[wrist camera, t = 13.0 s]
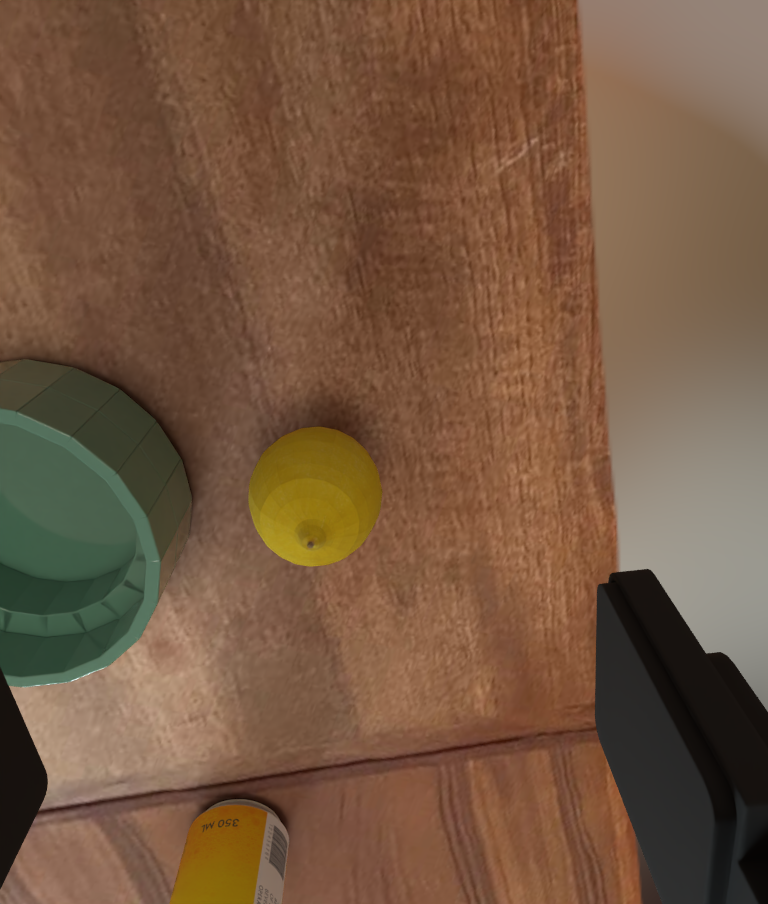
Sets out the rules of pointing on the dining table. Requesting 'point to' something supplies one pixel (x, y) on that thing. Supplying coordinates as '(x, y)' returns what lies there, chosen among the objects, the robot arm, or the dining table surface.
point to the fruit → (315, 496)
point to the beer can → (233, 856)
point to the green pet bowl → (80, 521)
